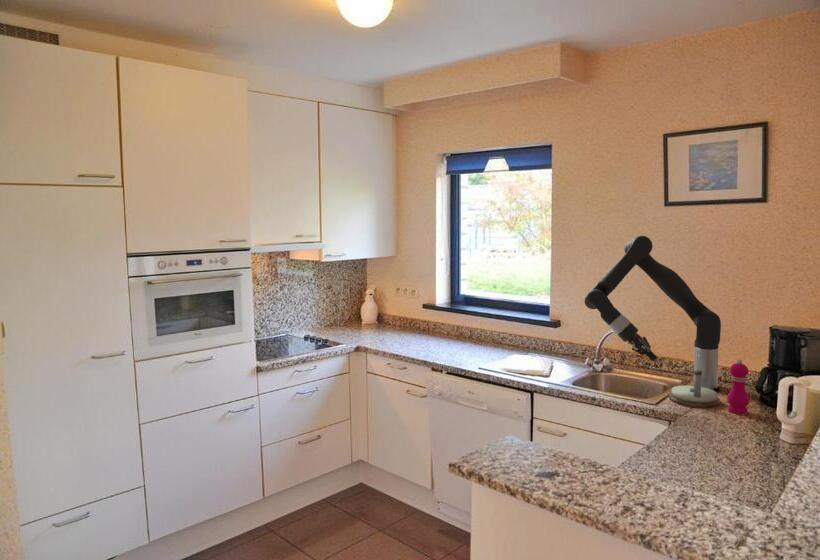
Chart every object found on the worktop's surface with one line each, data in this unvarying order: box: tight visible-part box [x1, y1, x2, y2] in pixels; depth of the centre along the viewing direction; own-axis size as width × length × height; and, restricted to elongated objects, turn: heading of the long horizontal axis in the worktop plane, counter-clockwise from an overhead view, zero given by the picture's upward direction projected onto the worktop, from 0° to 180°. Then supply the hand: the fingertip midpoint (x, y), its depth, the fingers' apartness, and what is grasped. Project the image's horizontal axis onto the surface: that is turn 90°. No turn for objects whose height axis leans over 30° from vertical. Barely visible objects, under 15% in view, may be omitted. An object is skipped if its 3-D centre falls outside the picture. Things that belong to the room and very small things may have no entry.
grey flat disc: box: [668, 391, 720, 409], centre depth 233 cm, size 18×18×2 cm
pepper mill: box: [726, 359, 750, 415], centre depth 218 cm, size 7×7×20 cm
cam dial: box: [670, 370, 718, 403], centre depth 232 cm, size 16×16×12 cm
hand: (655, 359), depth 236 cm, fingers closed
